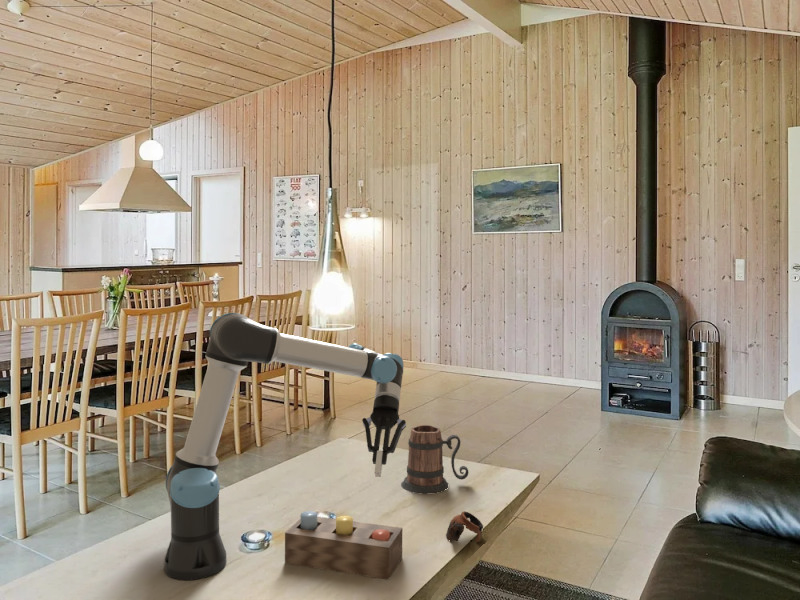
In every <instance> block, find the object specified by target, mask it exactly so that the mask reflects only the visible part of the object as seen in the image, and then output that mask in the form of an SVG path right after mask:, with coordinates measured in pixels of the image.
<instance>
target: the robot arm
mask: <svg viewBox="0 0 800 600" xmlns="http://www.w3.org/2000/svg"><path fill="white" fill-rule="evenodd" d="M210 326H211V327H210V329H209V341H208V345H207V348H206V352H205V359H206V360H207V362H208V365H207V369H206V373H205V375H204V378H203V382H202V386H201V389H200V392H199V395H198V398H197V403H196V406H195V409H194V412H193V417H192V419H191V422H190V426H189V428H188V429H189V430H188V431H187V436H186V440H185V443H184V446H183V447H182V448H181V449H180V450H178V451H176V452H175V456H174V460H173V463H172V465H171V467H169V469H168V471H167V473H166V478H165V488H166V492H167V495H168V500H169V504H170V535H171V536H170V541H169V545H168V547H167V551H166V553H165V557H164V561H163V570H164V573H165V575H167V576H168V577H170V578H172V579H174V580H180V581H181V580H183V581H189V580H192V581H193V580H199V579H204V578H208V577H210V576H212V575H214V574H215V575H216V574H217V573H218V572H220V571H221V570H223V569H224V568H225V567H226V566H227V565H226V564H227V550H226V549H225V545H224V543H223V540H222V536H221V534H220V489H221V488H220V486H221V485H220V482H219V476H218V475H217V469H218V467H219V463H220V461H219V458H218V457H217V455H216V454H217V450H218V447H219V443H220V439H221V436H222V433H223V429H224V427H225V422H226V419H227V416H228V412H229V408H230V406H231V402H232V400H233V399H232V398H233V396H234V393H235V389H236V385H237V382H238V378H239V376H240V375H239V374H240V372H241V371H242V370H244V369H245V368H247V367H248V364H249V362H252V363H260V364H266V365H270V364H271V363H273V362H277V363H282V364H287V365H292V366H298V367H301V368H307V369H308V368H309V369H313V370H320V371H323V372H324V371H325V372H329V373H330V372H331V373H334V374H341V375H347V376H351V377H355V378H356V377H358V378H361V379H367V380H372V381H375V382H376V388H375V394H374V402H373V407H372V408H373V409H372V412H371V414H370V416H369V417H367V418H366V417H363V418H362V425H363V427H364V429H365V437H366V445H367V450H368V452H369V453H373V454H372V464H373V465H375V466H374V476H375V477H378V478H381V477H382V469H383V465H384V466H385V465H386V464H387V459H388V455H389V454H394V453H395V450H396V448H397V446H398V442H399V439H400V438H401V434H402V433H403V431H404V430H405V429H406V427H407V423H406V420H405V419H401V418H400V415H399V409H400V401H401V390H402V384H403V383H402V382H403V375H404V359H403V358H402V357H401V356H400V354H396V353H392V352H386V353H384V354H382V353H379V352H376V351H374V350H371V349H369V348H367V347H364V345H360V344H358V343H356V342H355V343H351V344H350V345H348V346H342V345H338V344H333V343H329V342H323V341H320V340H313V339H308V338H305V337H300V336H295V335H291V334H286V333H281V332H279V330H278V329H277V328H276V327H271V326H267V325H264V324H261V323H259V322H257V321H255V320H253V319H251V318H249V317H247V316H246V315H244V314H241V313H239V312H238V313H237V312H228V313H225V314H222V315H220V316H218V317H217V318H216V319H215V320H214V321H213V323H212V324H211V325H210ZM371 424H373V426H374V427H375V435H374V444H373V441H372V434H371V427H370V426H371ZM396 425H397V427H396V429H395V431H394V434H393V436H392V438H391V437H390V436H391V430H392V429H393V428H394V427H395V426H396ZM383 430H384V435H383V443H382V450H380V445H381V437H382V432H383ZM390 438H391V441H390ZM389 444H390V445H389Z"/></svg>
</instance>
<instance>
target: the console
mask: <svg viewBox="0 0 800 600" xmlns="http://www.w3.org/2000/svg"><path fill="white" fill-rule="evenodd" d="M378 529H384V530H388V531H389V532H390V539H389V540H388V541H383V540H376V539H372V532H373V531H375V530H378ZM402 558H403V527H399V526H392V525H391V526H390V525H383V524H375V523H368V522H363V521H361V522H360V521H354V520H353V533H352V534H351V536H348V535H341V534H336V518H330V517H323V516H322V517H321V516H317V528H316V529H315V530H314V531H312V530H305V529H301V518H299V519H298V521H296V522H295V523H294V524H293V525H292V526H291V527H289V528H288V530H286V531H285V532H284V564H288V563H289V565H293V566H294V565H296V566H301V567H308V568H314V569H320V570H327V571H331V572H340V573H346V574H351V575H359V576H365V577H370V578H376V579H383V580H390V578H391V577H392V575H393V573H394V571H395V570H396V569H397V567H398V565H399V564H400V562H401V560H402Z"/></svg>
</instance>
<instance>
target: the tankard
mask: <svg viewBox="0 0 800 600" xmlns="http://www.w3.org/2000/svg"><path fill="white" fill-rule="evenodd" d="M455 439H456V440H457V444H456V445H455V448H454V450H453V452H452V454H451V459H450V460H451V461H450V464H451V469H452V473H453V474H454V476H455V478H457V479H459V480H465V479H466V478H467V477H468V476H469V469H468V467H467V466H465V465H462V466H460V467H459V473H460V474H461V475H460V474H458V473H457V471H456V469H455V459H456V454H457V453H458V451H459V449H460V447H461V442H462V441H461V439H460V437H459V436H458V435H457V434H451V435H450V436H448V437H447V439H446V440H443V438H442V432H441V428H439V427H436V426H434V425H429V424H428V425H427V424H422V425H418V426H417V425H416V426H413V427H412V428H411V429H410V435H409V438H408V442H407V443H408V455H407V456H408V457H407V465H406V473H407V474H406V475H407V476H405V478H404V480H403V481H402V482H401V484H400V487H401V488H402V489H403V490H405V491H407V492H409V493H413V492H414V493H413V494H419V493H422V494H421V495H428V494H427V493H435V494H438V493H437V492H440V493H442V492H441V491H443V492H445V491H446V490H445V489H447V488H448V484H449V483H448V482H447V479H446V478H445V477H444V472H445V471H444V465H443V459H444V458H443V445H446V446H447V448H448V449H449V450H452V449H453V447H452V440H455ZM463 470H465V472H464V471H463ZM448 489H449V488H448ZM448 489H447V490H448ZM444 490H445V491H444Z"/></svg>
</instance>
